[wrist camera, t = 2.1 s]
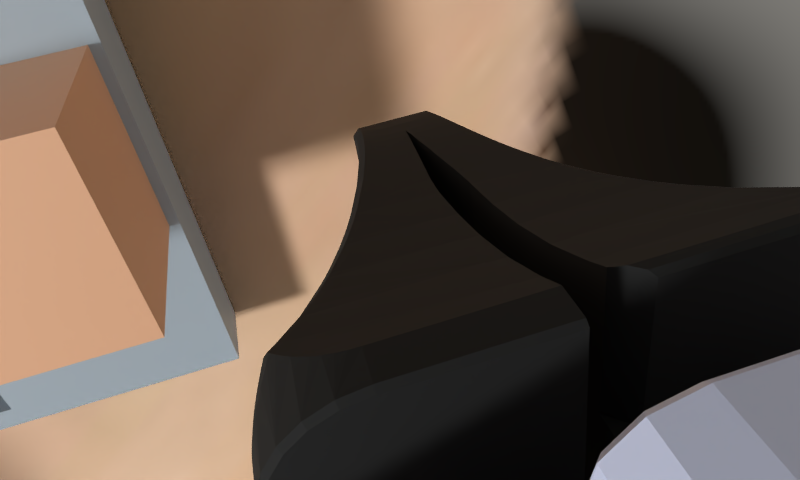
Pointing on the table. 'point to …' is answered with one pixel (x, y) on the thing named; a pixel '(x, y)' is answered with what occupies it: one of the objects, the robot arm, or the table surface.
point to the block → (73, 221)
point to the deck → (188, 253)
